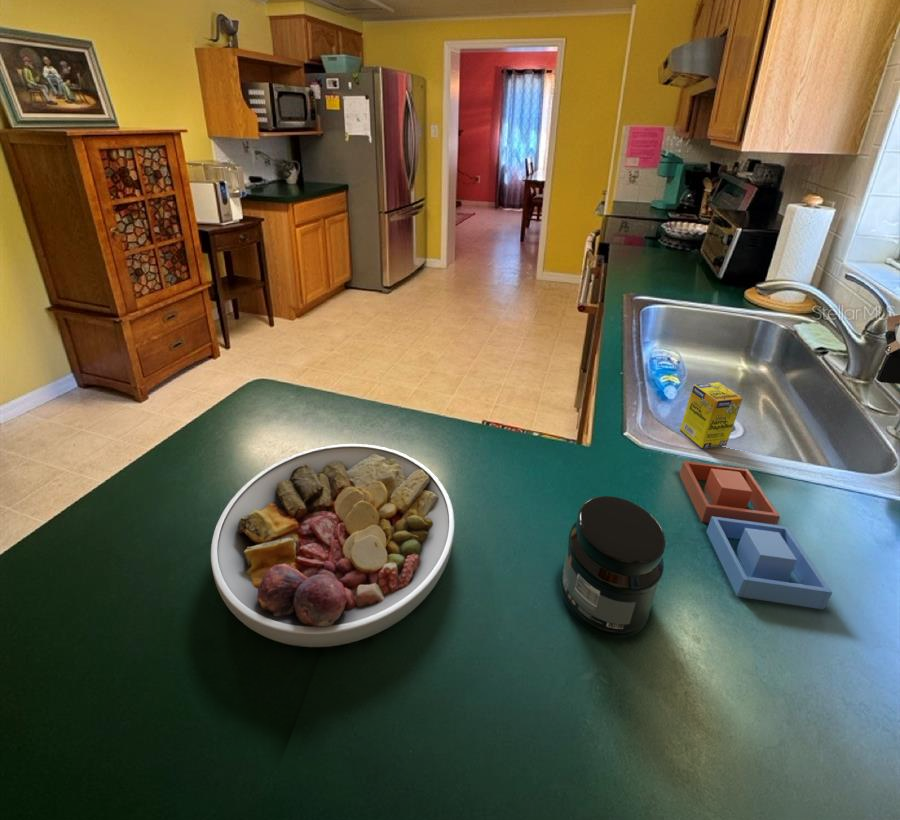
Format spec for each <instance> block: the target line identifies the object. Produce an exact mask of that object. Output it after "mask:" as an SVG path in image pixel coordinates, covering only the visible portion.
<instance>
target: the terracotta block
mask: <svg viewBox="0 0 900 820" xmlns="http://www.w3.org/2000/svg"><path fill="white" fill-rule="evenodd" d="M703 492H704V494H705V496H706V498H708V499H707V500H708V501H709V502H710V504H711V505H719V506H726V507H734V508H741V509H747V508H748V506H749V503H750V497H751V495H752V490H751V488H750V487H749V485H748V484H747V482H746V481H745V479H744V478H743V476H742V475H741V473H740V472H736V471H728V470H720V469H712V468H711V470H710V473H709V476H708V479H707V481H706V482H705V485H704V488H703Z"/></svg>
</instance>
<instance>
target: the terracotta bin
mask: <svg viewBox="0 0 900 820" xmlns="http://www.w3.org/2000/svg"><path fill="white" fill-rule="evenodd" d="M711 468H712V469H720V470H728V471H736V472H740V473H741V475H742V476H743V478H744V479H745V481H746V482H747V484H748V485H749V487H750V488H751V490H752V495H751V497H750V500H749V502H751V504H752V505H753V507H754V509H747V508H746V509H741V508H734V507H726V506H719V505H712V504H711V503H709V500H708V499H707V496H706V494H705V492H704V490H703V488H702V487H701V485H700V483H699V482H698V480H699V481H706V482H707V479H708V476H709V473H710V470H711ZM679 477H680V480H681V481H682V484H683V486H684V488H685V490H686V492H687V494H688V497H689V498H690V500H691V503H692V505H693V507H694V509H695V511H696V513H697V515H698V517H699V519H700V521H701V522H702V523H708V524H709V523H710V520H711V517H712V516H714V517H721V518H728V519H736V520H743V521H750V522H758V523H765V524H772V525H778V524H779V520H780V518H781V515H780V514H779V512H778V511H777V510H776V508H775V507H774V505H773V504H772V502H771V501H770V499H769V498H768V496H767V495H766V493H765V492H764V490H763V488H762V487H761V486H760V485H759V483H758V481H757V479H755V477H754V476H753V474H752V473H751V472H750V470H749V469H748V468H741V467H735V466H728V465H727V466H725V465H720V464H719V465H718V464H710V463H703V462H695V461H688V460H683V462H682V465H681V469H680V472H679Z"/></svg>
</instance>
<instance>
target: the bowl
mask: <svg viewBox="0 0 900 820" xmlns="http://www.w3.org/2000/svg"><path fill="white" fill-rule="evenodd" d="M454 536H455V514H454V508H453V503H452V501H451V498H450V496H449V493H448V491H447V489H446V488H445V486H444V485H443V483H442V482H441V481H440V479H439V478H438V477H437V476H436V475H435V474H434V472H433V471H432V470H431V469H429V468H428V467H427V466H425V465H424V464H423V463H422V462H420V461H418V460H417V459H415V458H414V457H412V456H409V455H408V454H405V453H403V452H400V451H398V450H395V449H392V448H389V447H384V446H380V445H373V444H366V443H365V444H364V443H340V444H331V445H330V444H329V445H324V446H318V447H314V448H310V449H308V450H304V451H301V452H298V453H295V454H292V455H290V456H288V457H286V458H283V459H281V460H279V461H277V462H275V463H274V464H271V465H270V466H268V467H267V468H265V469H263V470H262V471H261V472H259V473H258V474H256V475H255V476H254V477H252V478H251V479H250V480H249V481H247V482H246V483H245V484H244V485H242V487H241V488H240V489H239V490H238V491H237V492H236V493H235V494H234V495H233V497H232V498H231V499H230V501H229V502H228V503H227V505H226V506H225V508H224V510H223V511H222V513H221V515H220V517H219V519H218V521H217V523H216V526H215V528H214V531H213V535H212V539H211V546H210V564H211V569H212V570H211V571H212V575H213V579H214V583H215V586H216V588H217V591H218V593H219V595H220V598H221V600H222V601H223V602H224V604H225V605H226V607H227V608H228V609H229V611H230V612H231V613H232V614H233V616H235V617H236V618H237V619H238V620H239V621H240V622H241V623H242V624H243V625H244V626H246V627H247V628H249V629H250V630H252V631H254V632H255V633H257V634H259V635H261V636H263V637H265V638H267V639H270V640H272V641H274V642H278V643H282V644H284V645H291V646H295V647H296V646H297V647H304V648H305V647H306V648H327V647H335V646H341V645H346V644H351V643H354V642H358V641H361V640H364V639H367V638H369V637H372V636H374V635H376V634H379V633H380V632H383V631H384V630H387V629H389V628H390V627H392V626H394V625H395V624H397V623H398V622H400V621H401V620H403V619H404V618H405V617H407V616H408V615H409V614H411V613H412V612H413V611H414V610H415V609H416V608H417V607H419V605H420V604H421V603H423V601H424V600H425V599H426V598H427V597H428V595H430V593H431V592H432V590H433V589H434V588H435V586H436V585H437V583H438V582H439V580H440V578H441V577H442V575H443V573H444V571H445V569H446V566H447V564H448V562H449V558H450V556H451V552H452V549H453V543H454V538H455V537H454Z"/></svg>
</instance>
